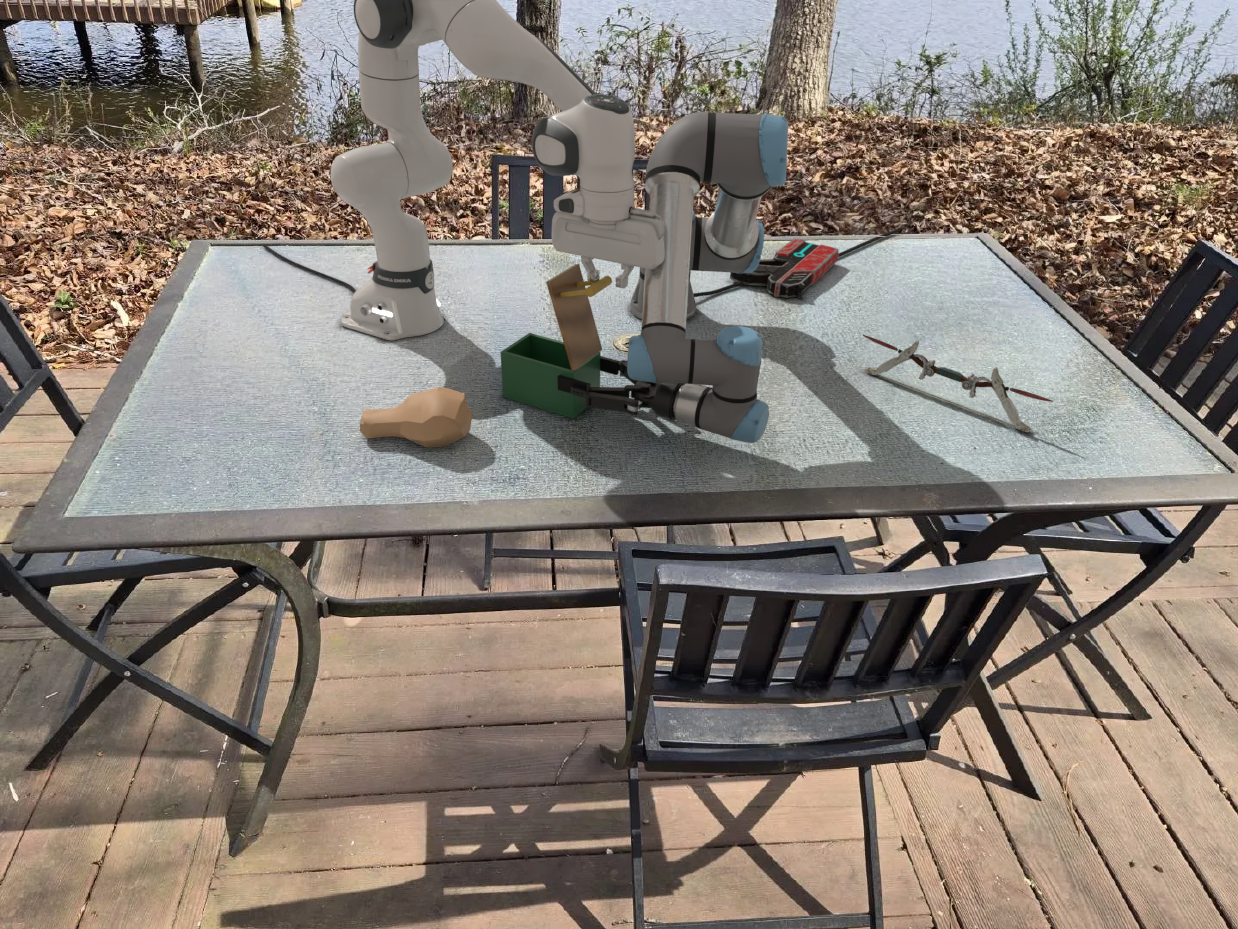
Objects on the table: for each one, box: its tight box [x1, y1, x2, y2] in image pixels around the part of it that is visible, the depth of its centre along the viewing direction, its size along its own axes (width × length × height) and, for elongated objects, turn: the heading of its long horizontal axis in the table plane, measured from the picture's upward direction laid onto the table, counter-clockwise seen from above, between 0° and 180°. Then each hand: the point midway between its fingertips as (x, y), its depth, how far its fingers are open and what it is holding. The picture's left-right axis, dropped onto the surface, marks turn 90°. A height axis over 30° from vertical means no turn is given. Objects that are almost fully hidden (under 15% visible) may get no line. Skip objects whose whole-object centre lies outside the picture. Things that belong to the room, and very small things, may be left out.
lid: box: [545, 263, 613, 370], centre depth 156 cm, size 17×10×8 cm
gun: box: [729, 238, 840, 299], centre depth 224 cm, size 4×31×19 cm
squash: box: [359, 386, 473, 449], centre depth 154 cm, size 11×20×9 cm, turn 90°
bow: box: [862, 334, 1055, 433], centre depth 169 cm, size 39×2×10 cm, turn 47°
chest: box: [499, 332, 602, 420], centre depth 167 cm, size 16×10×10 cm, turn 61°
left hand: (607, 283), depth 151 cm, fingers open, 4 cm apart
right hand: (573, 370), depth 164 cm, fingers closed on chest, 10 cm apart
